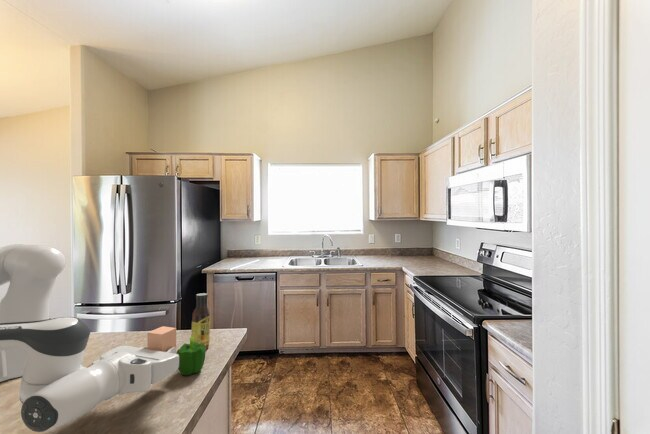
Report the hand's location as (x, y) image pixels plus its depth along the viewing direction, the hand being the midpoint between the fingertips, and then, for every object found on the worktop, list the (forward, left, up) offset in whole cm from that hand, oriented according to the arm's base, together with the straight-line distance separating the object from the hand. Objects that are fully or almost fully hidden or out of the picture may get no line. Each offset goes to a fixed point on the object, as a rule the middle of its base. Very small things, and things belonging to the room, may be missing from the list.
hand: (164, 348), depth 82 cm
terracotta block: (0, -1, -7) cm, 7 cm away
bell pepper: (+4, +8, -11) cm, 14 cm away
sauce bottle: (+1, +24, -11) cm, 26 cm away
